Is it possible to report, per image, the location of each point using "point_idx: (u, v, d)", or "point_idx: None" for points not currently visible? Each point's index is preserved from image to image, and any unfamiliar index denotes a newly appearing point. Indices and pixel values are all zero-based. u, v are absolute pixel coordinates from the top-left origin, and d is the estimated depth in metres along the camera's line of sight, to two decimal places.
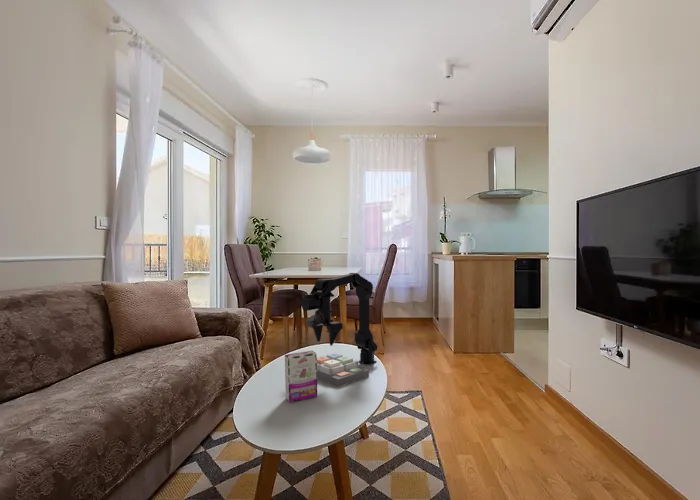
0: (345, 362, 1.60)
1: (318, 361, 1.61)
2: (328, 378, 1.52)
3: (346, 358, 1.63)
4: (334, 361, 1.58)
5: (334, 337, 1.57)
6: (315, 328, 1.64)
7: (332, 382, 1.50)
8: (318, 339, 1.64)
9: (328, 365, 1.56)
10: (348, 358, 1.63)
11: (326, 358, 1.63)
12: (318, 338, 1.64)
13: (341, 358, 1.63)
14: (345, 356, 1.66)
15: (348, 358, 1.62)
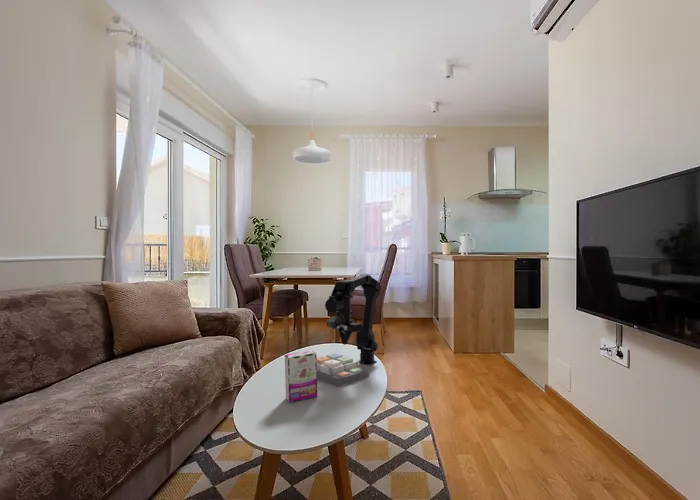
0: (345, 362, 1.60)
1: (318, 361, 1.61)
2: (328, 378, 1.52)
3: (346, 358, 1.63)
4: (334, 361, 1.58)
5: (348, 336, 1.62)
6: (341, 331, 1.63)
7: (332, 382, 1.50)
8: None
9: (328, 365, 1.56)
10: (348, 358, 1.63)
11: (326, 358, 1.63)
12: (343, 341, 1.63)
13: (341, 358, 1.63)
14: (345, 356, 1.66)
15: (348, 358, 1.62)
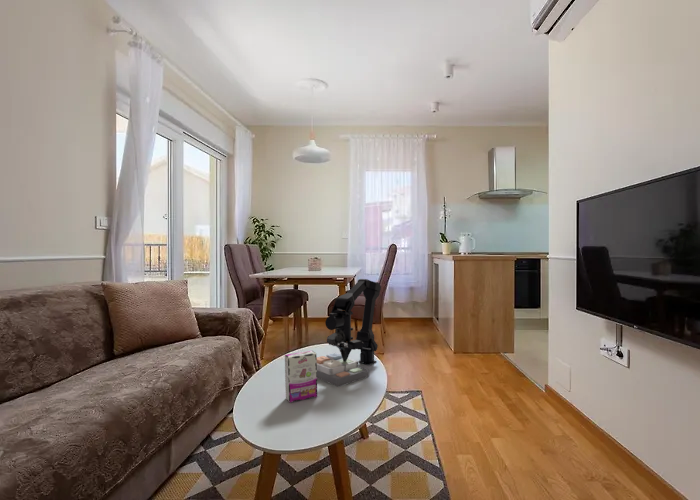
0: None
1: (318, 361, 1.61)
2: (328, 378, 1.52)
3: (346, 360, 1.63)
4: (334, 361, 1.58)
5: (348, 353, 1.62)
6: (341, 347, 1.62)
7: (332, 382, 1.50)
8: None
9: (328, 365, 1.56)
10: (348, 361, 1.63)
11: (326, 358, 1.63)
12: None
13: (341, 361, 1.63)
14: None
15: (348, 361, 1.62)
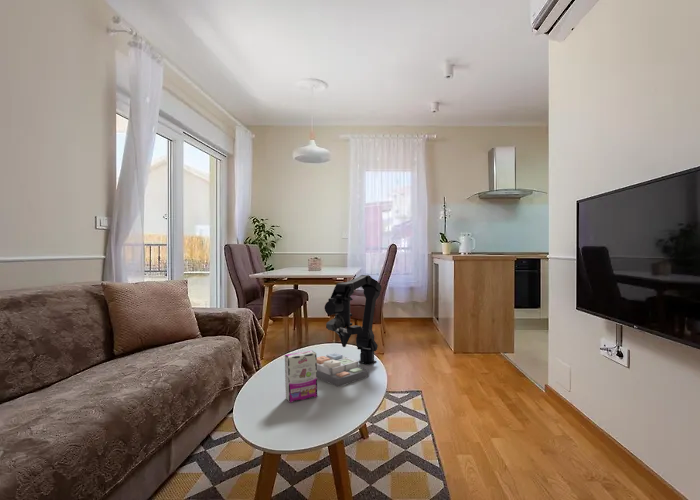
0: None
1: (318, 361, 1.61)
2: (328, 378, 1.52)
3: (346, 361, 1.63)
4: (334, 361, 1.58)
5: (347, 339, 1.62)
6: (340, 333, 1.62)
7: (332, 382, 1.50)
8: None
9: (328, 365, 1.56)
10: (348, 361, 1.63)
11: (326, 358, 1.63)
12: None
13: (341, 361, 1.63)
14: (345, 359, 1.66)
15: (348, 361, 1.62)
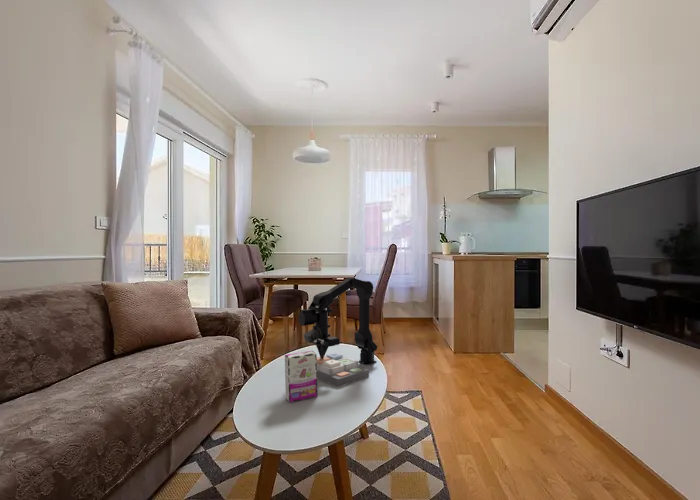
0: None
1: (318, 361, 1.61)
2: (328, 378, 1.52)
3: (346, 361, 1.63)
4: (334, 361, 1.58)
5: (325, 350, 1.63)
6: (318, 344, 1.63)
7: (332, 382, 1.50)
8: None
9: (328, 365, 1.56)
10: (348, 361, 1.63)
11: (326, 358, 1.63)
12: None
13: (341, 361, 1.63)
14: (345, 359, 1.66)
15: (348, 361, 1.62)
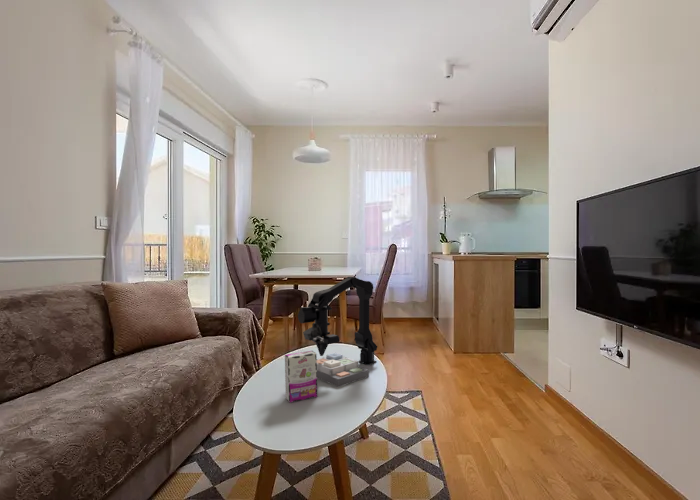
0: None
1: None
2: (328, 378, 1.52)
3: (346, 361, 1.63)
4: (334, 361, 1.58)
5: (324, 348, 1.63)
6: (318, 342, 1.63)
7: (332, 382, 1.50)
8: None
9: (328, 365, 1.56)
10: (348, 361, 1.63)
11: None
12: None
13: (341, 361, 1.63)
14: (345, 359, 1.66)
15: (348, 361, 1.62)
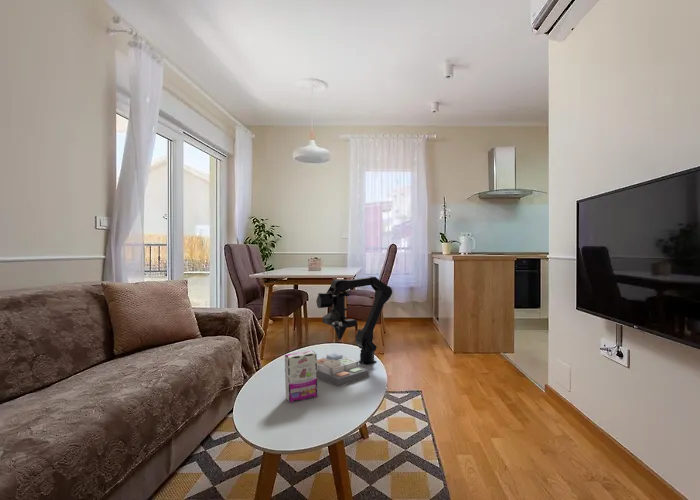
0: None
1: None
2: (328, 378, 1.52)
3: (346, 361, 1.63)
4: (334, 361, 1.58)
5: (342, 332, 1.72)
6: (336, 326, 1.72)
7: (332, 382, 1.50)
8: None
9: (328, 365, 1.56)
10: (348, 361, 1.63)
11: None
12: None
13: (341, 361, 1.63)
14: (345, 359, 1.66)
15: (348, 361, 1.62)
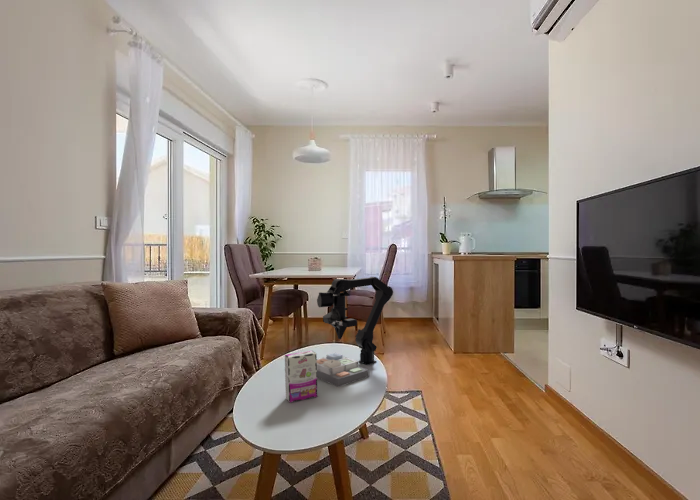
0: None
1: None
2: (328, 378, 1.52)
3: (346, 361, 1.63)
4: (334, 361, 1.58)
5: (343, 331, 1.72)
6: None
7: (332, 382, 1.50)
8: None
9: (328, 365, 1.56)
10: (348, 361, 1.63)
11: None
12: None
13: (341, 361, 1.63)
14: (345, 359, 1.66)
15: (348, 361, 1.62)
